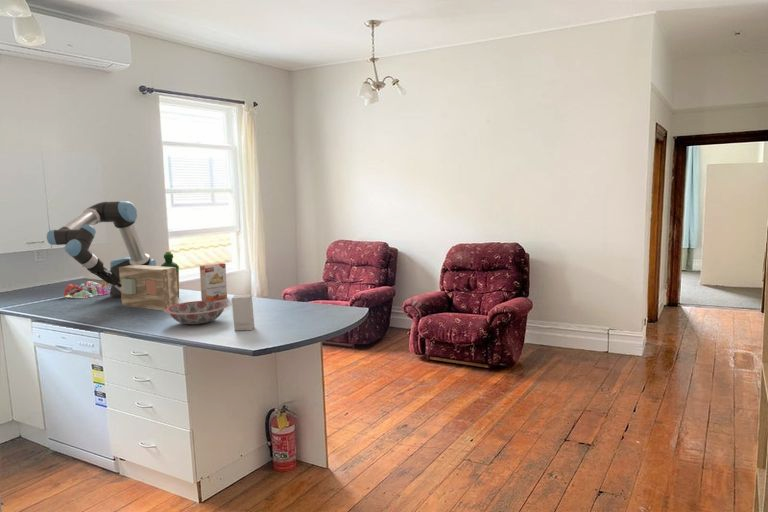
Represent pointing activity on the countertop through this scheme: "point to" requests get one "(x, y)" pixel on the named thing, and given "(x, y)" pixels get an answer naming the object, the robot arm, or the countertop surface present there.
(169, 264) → the bottle
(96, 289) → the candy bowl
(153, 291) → the terracotta button
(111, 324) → the countertop surface
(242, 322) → the skincare box
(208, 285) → the cracker box
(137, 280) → the block
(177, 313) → the ceramic bowl
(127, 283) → the sage button
